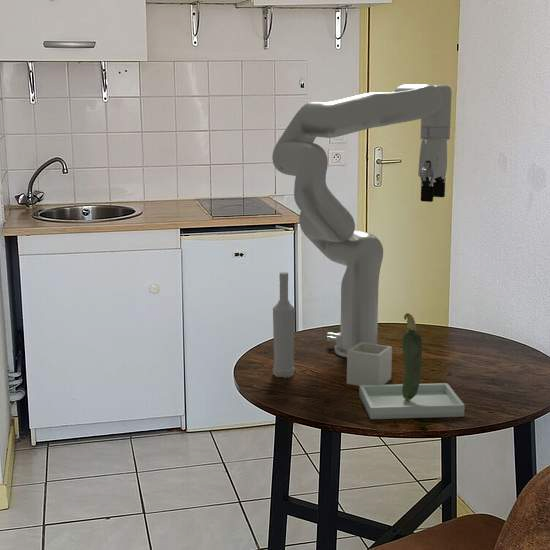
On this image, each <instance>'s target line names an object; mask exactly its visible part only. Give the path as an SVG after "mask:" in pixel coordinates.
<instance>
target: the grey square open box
mask: <svg viewBox="0 0 550 550" xmlns="http://www.w3.org/2000/svg"><path fill="white" fill-rule="evenodd" d="M392 362H393V346H390V345H383V344H378V343H377V344H371V343H364V342H360V343H358V344H357V345H355V346H354V347H352V348H351V349H349V350H348V351H347V357H346V385H353V386H358V387H359V386H360V385H387V383H388V382H390V380H392Z"/></svg>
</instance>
